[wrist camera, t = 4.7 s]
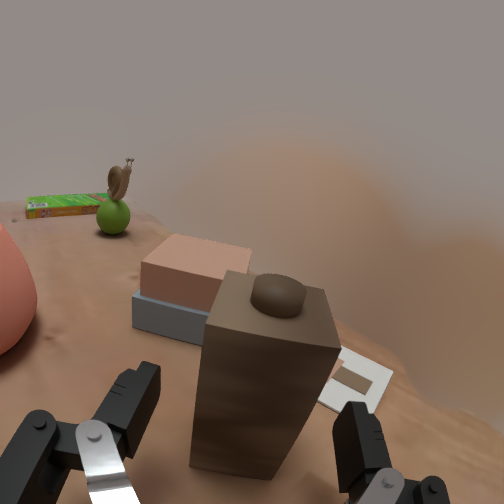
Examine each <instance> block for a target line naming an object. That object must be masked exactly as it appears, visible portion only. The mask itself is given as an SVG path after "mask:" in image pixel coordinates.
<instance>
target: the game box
mask: <svg viewBox="0 0 504 504" xmlns="http://www.w3.org/2000/svg"><path fill="white" fill-rule="evenodd" d="M109 199H110V198H109V197H108V194H107V193H100V194H99V193H97V194H73V195H54V196H39V197H27V210H26V212H27V219H33V218H44V217H57V216H71V215H87V214H97V211H98V208H99V207H100V205H101V204H102V203H103V202H105V201H106V200H109ZM120 200H121V199H120ZM121 201H122V200H121ZM124 203H125V202H124Z"/></svg>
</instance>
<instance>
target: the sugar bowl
mask: <svg viewBox="0 0 504 504" xmlns="http://www.w3.org/2000/svg"><path fill="white" fill-rule="evenodd" d="M36 307H37V293H36V288H35V284H34V281H33V278H32V275H31V272H30V270H29V267H28V265H27V263H26V261H25V259H24V257H23V255H22V253H21V252H20V250H19V248H18V247H17V245H16V244H15V242H14V241H13V239H12V238H11V236H10V235H9V234H8V232H7V231H6V229H5V228H4V227H3V225H2V224H1V223H0V356H1V354H3V353H4V352H6V351H8V350H9V349H10V348H11V347H13V346H14V345H15V344H16V343H17V342H18V341H19V340H20V338H21V337H22V336H23V334H24V333H25V331H26V330H27V328H28V326H29V325H30V323H31V321H32V319H33V317H34V314H35V311H36Z"/></svg>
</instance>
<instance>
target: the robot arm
mask: <svg viewBox="0 0 504 504" xmlns="http://www.w3.org/2000/svg"><path fill="white" fill-rule="evenodd" d="M160 390H161V368H160V366H159V365H156V364H152V363H149V362H146V361H142V362H141V364H140V365H139V367H138V369H137V371H135V370H132V369H127V370H126V371H124V372H123V373H121V374H120V375H119V376H118V378H117V379H116V381H115V383H114V385H113V386H112V387H111V389H110V392H108V394H107V395H106V397H105V398H104V400H103V402H102V403H101V405H100V407H99V408H98V410H97V411H96V413H95V415H94V416H93V418H91V419H90V420H86V421H84V422H82V423H80V424H70V423H65V422H59V421H56V420H55V418H54V417H53V416H52V414H50V413H49V412H47V411H45V410H34V411H31V412H30V413H29V414H27V416H26V417H25V419H24V420H23V422H22V423H21V425H20V426H19V428H18V429H17V431H16V432H15V434H14V436H13V437H12V439H11V440H10V442H9V444H8V445H7V447H6V449H5V450H4V452H3V454H2V455H1V457H0V504H56V502H57V500H58V497H59V495H60V493H61V490H62V488H63V486H64V483H65V481H66V479H67V477H68V474H69V472H70V470H71V469H74V470H80V471H85V474H86V477H87V481H88V483H87V487H88V491H89V494H90V497H91V500H92V502H93V504H140V503H139V501H138V499H137V497H136V494H135V492H134V490H133V488H132V485H131V483H130V481H129V478H128V476H127V474H126V472H125V469H124V467H123V464H122V463H123V461H124V459H125V456H126V457H128V458H131V459H133V458H134V455H135V453H136V451H137V448H138V446H139V444H140V441H141V439H142V437H143V434H144V432H145V430H146V427H147V425H148V423H149V421H150V418H151V416H152V414H153V411H154V409H155V407H156V405H157V402H158V400H159V396H160ZM332 435H333V442H334V450H335V458H336V466H337V474H338V483H339V493H349V498H348V499H347V500H346V501H345V503H344V504H450V501H449V497H448V493H447V489H446V485H445V483H444V481H443V480H442V479H441V478H439V477H437V476H428V477H426V478H425V479H423V480H422V481H415V480H409V479H404V478H403V476H402V474H401V473H400V472H399V471H397V470H396V469H393V468H392V465H391V461H390V457H389V453H388V450H387V446H386V442H385V440H384V435H383V433H382V428H381V425H380V422H379V420H378V419H377V418H376V416H375V415H374V414H373V413H369V412H368V409H367V405H366V403H365V402H358V401H348V402H347V403H346V404H345V406H344V407H343V409H342V411H341V412H340V414H339V415H338V417H337V419H336V420H335V422H334V425H333V430H332Z"/></svg>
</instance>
